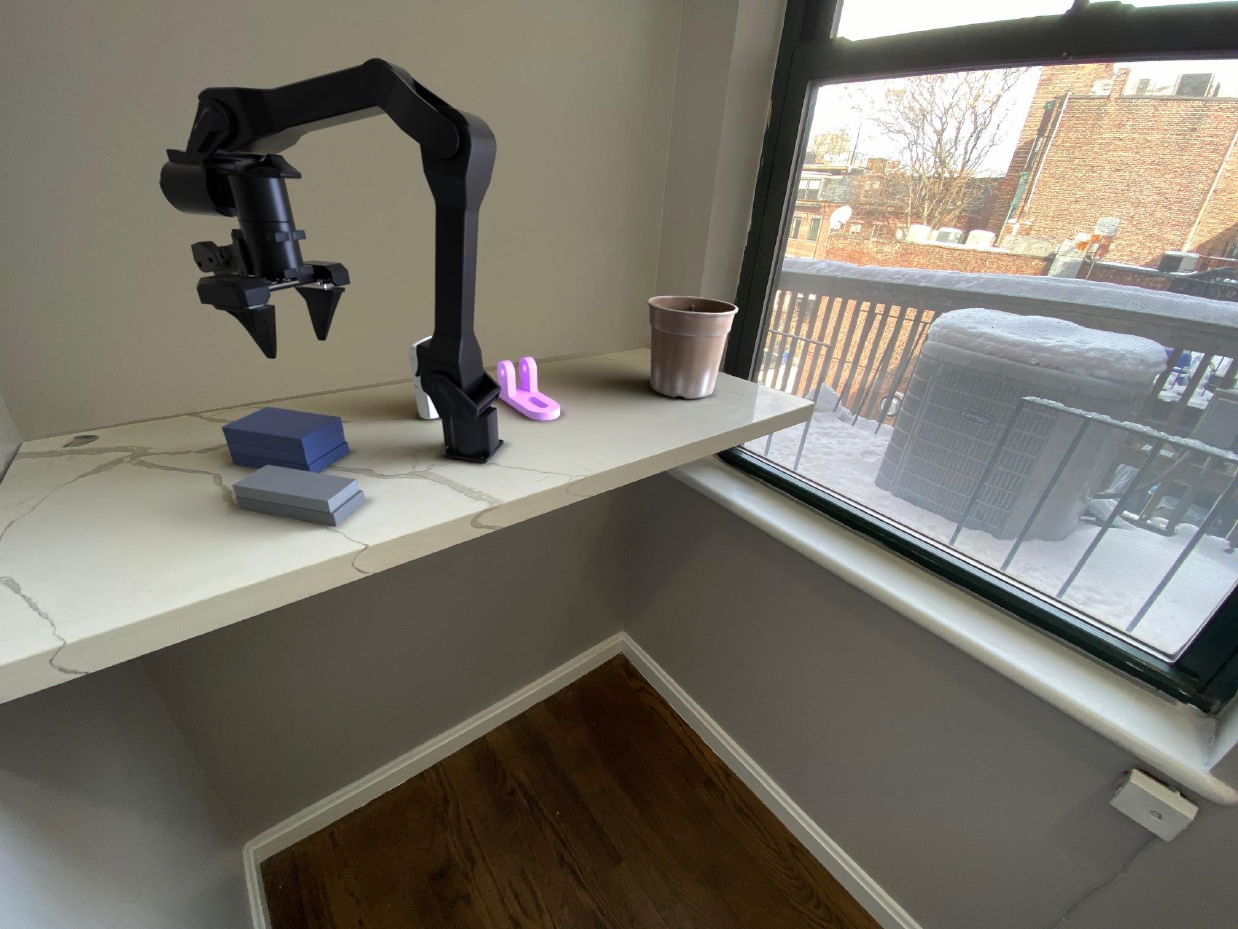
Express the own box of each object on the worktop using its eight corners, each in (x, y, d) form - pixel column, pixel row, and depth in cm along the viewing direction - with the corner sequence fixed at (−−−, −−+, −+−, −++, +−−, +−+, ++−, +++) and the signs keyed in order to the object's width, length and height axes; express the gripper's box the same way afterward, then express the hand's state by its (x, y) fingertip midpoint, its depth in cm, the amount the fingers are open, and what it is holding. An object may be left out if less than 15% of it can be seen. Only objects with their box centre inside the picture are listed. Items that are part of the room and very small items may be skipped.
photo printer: (428, 422, 78) (417, 343, 72) (413, 414, 81) (401, 337, 75) (483, 405, 85) (478, 332, 79) (468, 398, 88) (461, 326, 82)
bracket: (499, 397, 89) (496, 358, 86) (527, 391, 92) (525, 354, 89) (536, 423, 80) (535, 381, 77) (566, 415, 84) (566, 375, 80)
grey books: (365, 501, 59) (361, 479, 57) (336, 525, 54) (330, 502, 53) (274, 486, 60) (267, 463, 59) (239, 508, 56) (230, 485, 55)
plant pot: (675, 369, 109) (684, 291, 101) (740, 391, 99) (755, 306, 91) (623, 385, 98) (628, 299, 90) (689, 411, 88) (702, 317, 81)
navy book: (344, 430, 67) (340, 416, 66) (305, 454, 61) (301, 439, 60) (271, 420, 69) (267, 406, 68) (226, 441, 63) (221, 426, 62)
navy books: (350, 452, 69) (345, 430, 67) (311, 477, 62) (305, 454, 61) (277, 440, 70) (271, 419, 69) (233, 464, 64) (225, 441, 63)
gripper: (267, 213, 70) (295, 327, 77) (129, 218, 54) (181, 362, 61) (341, 219, 68) (362, 334, 76) (221, 226, 52) (263, 372, 60)
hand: (298, 348), depth 68 cm, fingers open, 9 cm apart
